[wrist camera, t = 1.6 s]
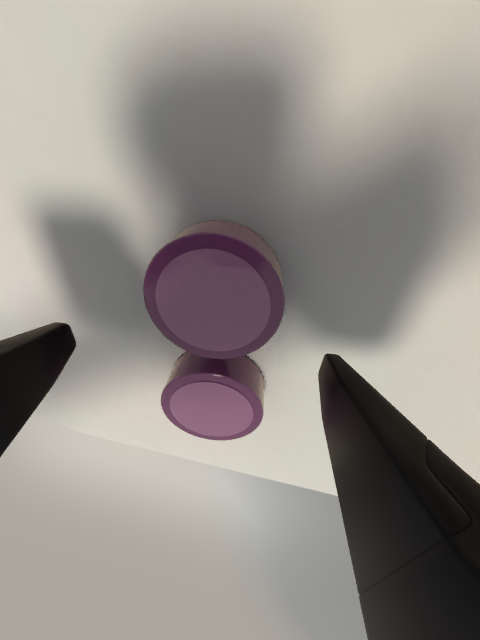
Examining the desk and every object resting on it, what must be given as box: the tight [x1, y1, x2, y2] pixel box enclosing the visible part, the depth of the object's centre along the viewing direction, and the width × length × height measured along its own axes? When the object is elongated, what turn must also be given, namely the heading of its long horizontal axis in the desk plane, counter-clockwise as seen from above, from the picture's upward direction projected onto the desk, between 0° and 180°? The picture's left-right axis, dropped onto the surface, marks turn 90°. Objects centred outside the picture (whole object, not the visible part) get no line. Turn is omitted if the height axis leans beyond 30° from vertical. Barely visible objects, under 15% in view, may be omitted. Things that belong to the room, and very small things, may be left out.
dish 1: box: [143, 220, 285, 359], centre depth 12 cm, size 6×6×2 cm
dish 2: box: [161, 352, 264, 440], centre depth 16 cm, size 6×6×2 cm
